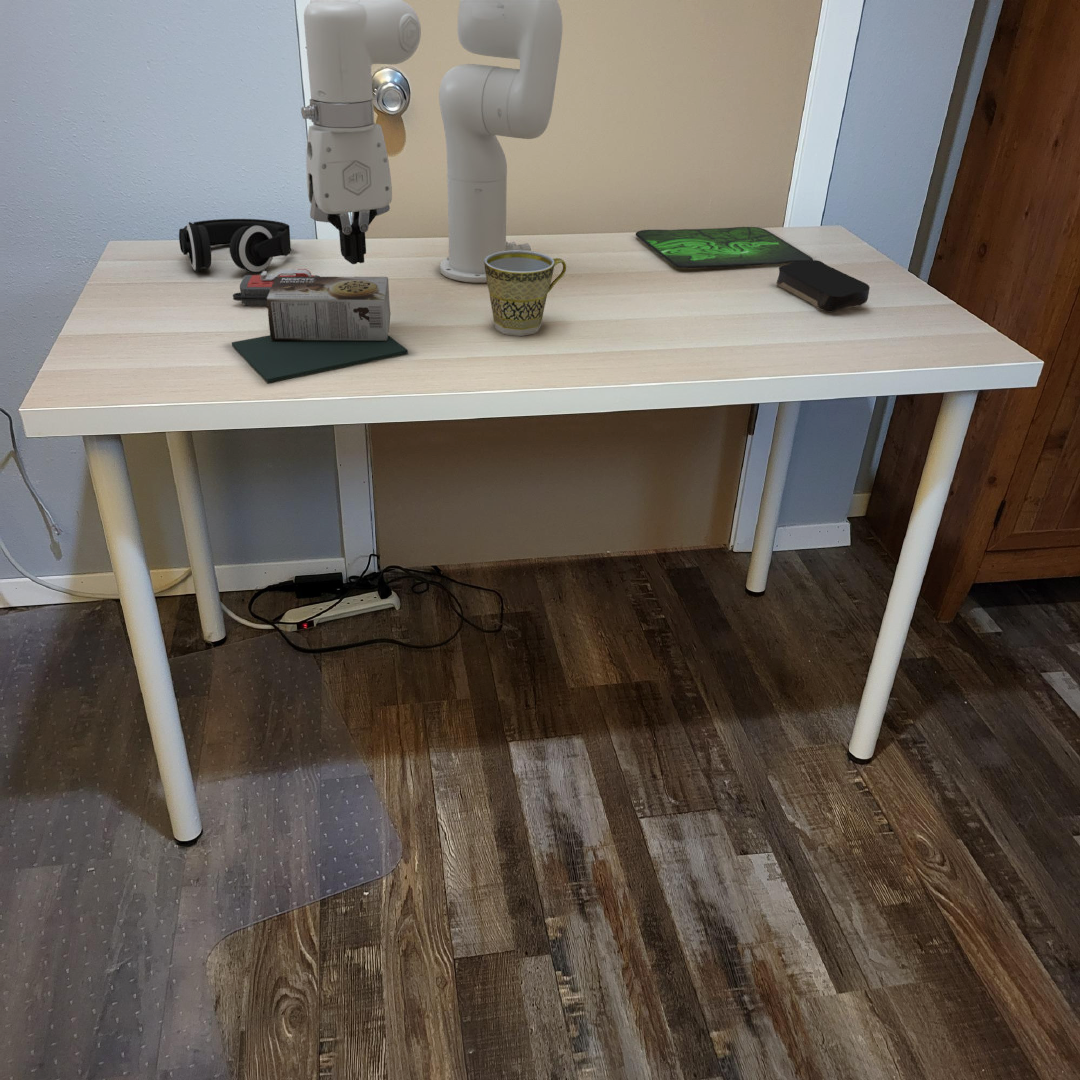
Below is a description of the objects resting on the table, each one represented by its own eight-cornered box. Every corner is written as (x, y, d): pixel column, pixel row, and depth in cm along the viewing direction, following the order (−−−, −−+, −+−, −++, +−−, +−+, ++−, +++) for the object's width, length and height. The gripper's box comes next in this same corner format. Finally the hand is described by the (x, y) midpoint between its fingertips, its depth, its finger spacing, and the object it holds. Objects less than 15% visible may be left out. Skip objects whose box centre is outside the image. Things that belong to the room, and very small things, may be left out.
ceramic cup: (506, 345, 138) (507, 276, 133) (472, 322, 145) (471, 255, 140) (581, 329, 144) (585, 262, 139) (545, 308, 151) (547, 243, 146)
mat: (365, 321, 144) (365, 317, 144) (408, 353, 135) (407, 349, 134) (232, 346, 135) (231, 342, 135) (267, 383, 125) (267, 379, 125)
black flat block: (871, 311, 155) (876, 288, 153) (827, 316, 152) (832, 293, 150) (811, 279, 167) (814, 257, 165) (769, 283, 164) (772, 262, 162)
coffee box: (391, 318, 144) (279, 317, 143) (388, 275, 140) (274, 274, 139) (387, 343, 136) (269, 342, 135) (384, 298, 133) (264, 297, 132)
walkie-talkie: (230, 311, 146) (366, 312, 147) (226, 282, 143) (364, 283, 145) (241, 291, 153) (370, 292, 155) (237, 263, 151) (368, 264, 152)
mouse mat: (760, 228, 192) (761, 222, 191) (818, 262, 174) (819, 257, 174) (631, 235, 185) (631, 230, 184) (677, 272, 167) (678, 266, 167)
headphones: (160, 225, 153) (195, 206, 171) (167, 276, 156) (200, 252, 174) (275, 229, 154) (297, 209, 172) (279, 279, 157) (301, 255, 175)
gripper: (297, 124, 115) (312, 277, 125) (411, 115, 122) (416, 260, 132) (274, 113, 120) (290, 261, 130) (385, 105, 127) (392, 245, 137)
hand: (354, 260), depth 131 cm, fingers closed
